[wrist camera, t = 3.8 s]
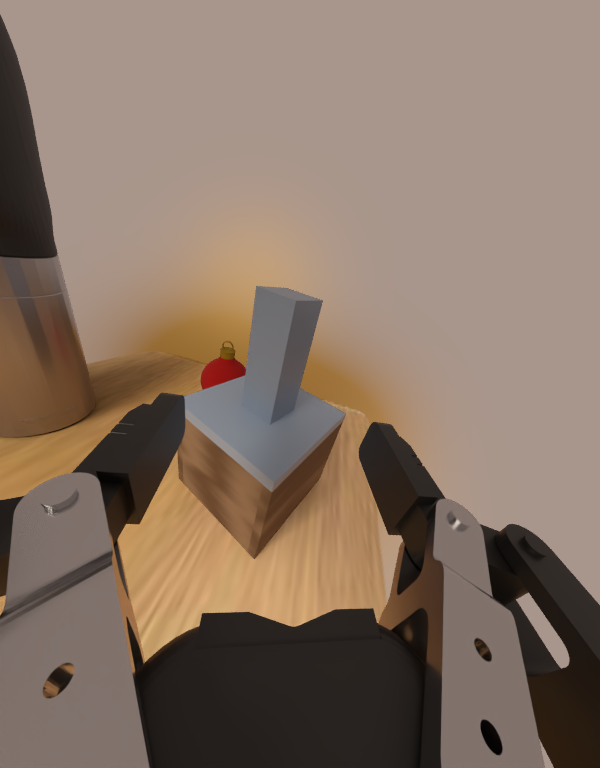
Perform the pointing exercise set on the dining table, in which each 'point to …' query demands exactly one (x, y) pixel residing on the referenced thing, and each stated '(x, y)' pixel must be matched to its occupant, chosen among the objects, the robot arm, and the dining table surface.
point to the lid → (269, 393)
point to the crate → (245, 488)
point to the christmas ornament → (222, 369)
